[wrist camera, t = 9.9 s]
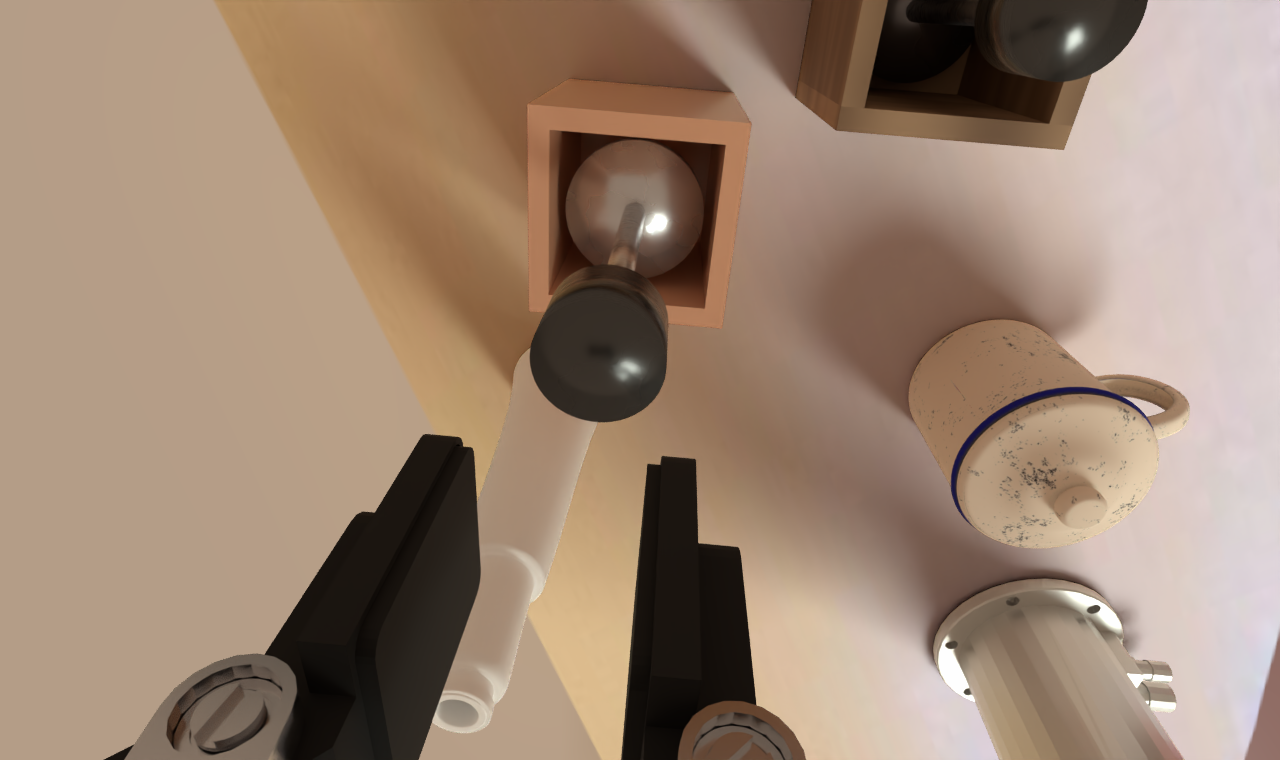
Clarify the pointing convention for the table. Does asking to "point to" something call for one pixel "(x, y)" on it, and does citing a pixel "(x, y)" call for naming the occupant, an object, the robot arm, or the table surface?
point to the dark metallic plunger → (1005, 36)
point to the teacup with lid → (1037, 434)
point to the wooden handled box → (925, 88)
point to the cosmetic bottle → (513, 545)
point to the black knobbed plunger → (617, 280)
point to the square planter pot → (675, 117)
